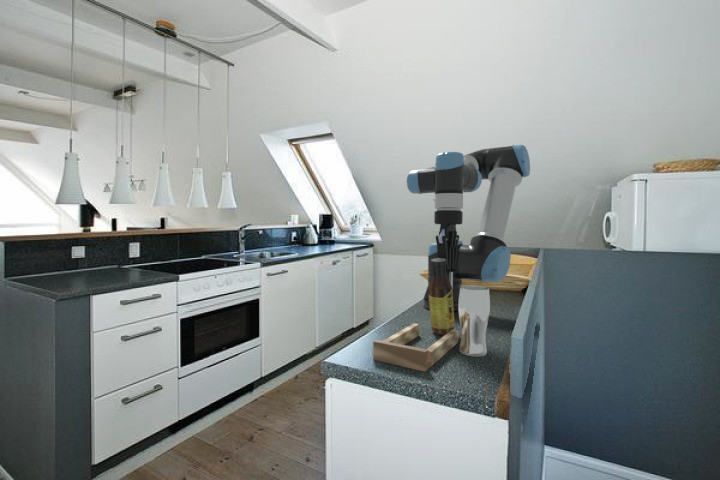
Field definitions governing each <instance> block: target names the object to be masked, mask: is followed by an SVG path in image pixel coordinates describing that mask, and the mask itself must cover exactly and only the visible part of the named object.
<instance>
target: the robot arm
mask: <svg viewBox="0 0 720 480" xmlns="http://www.w3.org/2000/svg"><path fill="white" fill-rule="evenodd" d="M530 160H531V159H530V155H529V152H528V149H527V147H526V145H524V144H516V145H515V144H512V145H510V146H509V145H508V146H501V147H500V146H499V147H490V148H483V149H479V150H476V151H473V152H469V153H467V154H463V153H461V152H459V151H446V152H440V153H437V155H436V157H435V163H434V164H435V165H434V166H432V167H427V168H423V169H415V170H410V172H409V173H408V174H407V176H406V187H407V190H408V191H409V193H411V194H417V195H418V194H419V195H422V194H433V193H434V198H433V202H434V209H436V210H435V211H434V216H433V217H434V224H435V225H440V227H439V231H438V235H435V242H433V243H431V244H430V245H429V247H428V255H427V259H428V260H427V263H428V264H427V265H428V266H427V271H428V272H427V275H428V276H427V279H428V281H427V287H426V289H425V293H424V294H423V298H422V306H423V308H425V309H427V310H430V304H429V283H430V281H431V279H432V277H433V276H432V266H431V260H432V259H435V258H444V259H446V262H447V265H446V272H447V277H448V279H449V281H450V284H451V286H452V290H453V307H454V312H458V297H459V287H460V286H463V280H466V281H468V280H469V281H475V282H476V281H478V282H484V283H499V282H501V281H502V280H504V279H505V278H506V277H507V274H508V272H509V269H510V266H511V258H512V256H511V250H510V249H509V247H507V243H506V242H505V241H504V238H505V234H506V230H507V228H508V227H507V226H508V221H509V217H510V213H511V208H512V205H513V200H514V196H515V191H516V187H518V186H520V184H521V183H522V181H523V178H526V177H529V176H530V174H531V163H530ZM483 180H488V181H489V182H490V185H489V189H488V192H487V196H486V200H485V203H484V208H483V212H482V216H481V220H480V223H479V227H478V230H477V234H476V235H473V236H472V237H471V239H470V243H469V244H468V245H467V244H464V243H463V241H462V240H460V235H459V234H458V231H457V227H456V226H457V225H462V224H463V219H464V218H463V217H464V216H463V215H464V213H463V211H462V209H464V193H472V192H473V193H474V192H475V191H477V190H478V189H479V188H480V187H481V185H482V182H483Z"/></svg>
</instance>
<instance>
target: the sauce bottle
mask: <svg viewBox="0 0 720 480" xmlns="http://www.w3.org/2000/svg"><path fill="white" fill-rule="evenodd" d="M446 265H447V262H446V259H444V258H435V259H432V260H431V266H432V276H433V277H432V279H431V281H430V283H429V304H430V309H429V316H430V326H431V330H432V332H433V333H434V334H436V335H439V336H445V335H446V334H447V333H449V332H450V331H451V330H455V311H454V307H453V290H452V286H451V284H450V281H449V279H448V277H447V272H446Z"/></svg>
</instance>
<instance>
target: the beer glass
mask: <svg viewBox="0 0 720 480" xmlns="http://www.w3.org/2000/svg"><path fill="white" fill-rule="evenodd" d="M490 299H491V298H490V288H489V287H488V286H483V285H477V284H476V285H474V284H473V285H471V284H468V285H467V284H465V285H462V286H460V287H459V297H458V311H457V313H458V320H459V325H460V331H461V332H460V334H461V336H460V338H461V339H460V344H459V349H458V351H459V352H460V353H461V354H462V355H465V356H468V357H475V358H476V357H478V358H479V357H484V356H486V355H487V353H488V351H487V343H486V333H487V329H488V328H487V327H488V324H489V323H488V322H489V319H490V318H489V317H490V312H491V311H490V309H491V301H490Z"/></svg>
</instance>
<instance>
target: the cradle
mask: <svg viewBox="0 0 720 480" xmlns="http://www.w3.org/2000/svg"><path fill="white" fill-rule="evenodd" d="M419 335H420V324H419V323H412V324H411V325H409V326H406V327H404V328H403V329H401V330H400V331H397V332H396V333H394V334H391V335H390V336H388V337H387V338H385V339H383V340H380V339H375V340H374V341H373V342H372V344H373V345H372V346H373V347H372V350H373V351H372V352H373V353H372V356H373V357H372V359H373V361H376V362H377V361H378V362H383V363H386V364H390V365H396V366H399V367H404V368H408V369H412V370H417V371H419V372H420V371H421V372H426V371H428V370H429V369H430V368H431V367H432V366H433V365H434V364H436V363H437V362H438V361H439V360H440V359H441V358H443V356H445V355H446V354H447V353H448V352H449V351H451V349H452V348H454V347H455V346H456V345H457V344H458V343H459V330H457V329H454V330H451V331H450V332H449V333H447V334H446V335H442V337H441V338H439V339H438V340H437V341H435V342H434V343H433V344H431V345H430V346H429V347H427V348H426V349H425V348H421V347H416V346H412V345H406V344H408V343H410V342H412V341H413V340H414V339H416V338H417V337H419Z"/></svg>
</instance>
